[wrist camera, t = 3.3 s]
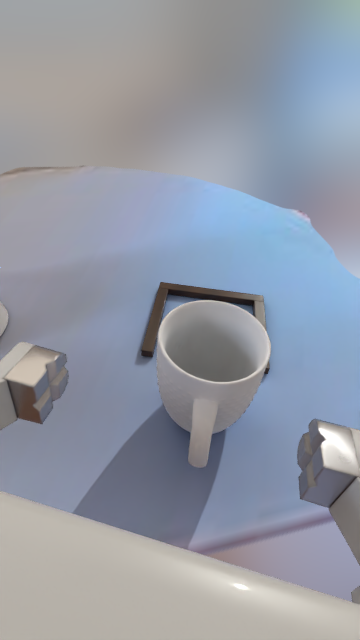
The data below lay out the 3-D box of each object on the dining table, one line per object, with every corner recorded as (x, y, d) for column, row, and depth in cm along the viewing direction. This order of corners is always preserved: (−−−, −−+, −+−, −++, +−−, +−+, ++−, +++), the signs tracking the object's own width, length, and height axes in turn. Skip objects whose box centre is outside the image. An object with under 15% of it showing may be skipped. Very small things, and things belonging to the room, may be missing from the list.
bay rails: (141, 355, 46) (141, 350, 45) (160, 287, 57) (160, 281, 56) (267, 374, 45) (269, 368, 44) (261, 300, 56) (263, 295, 56)
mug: (244, 497, 34) (280, 437, 25) (138, 479, 34) (135, 414, 25) (244, 378, 44) (268, 306, 35) (163, 366, 45) (167, 292, 36)
